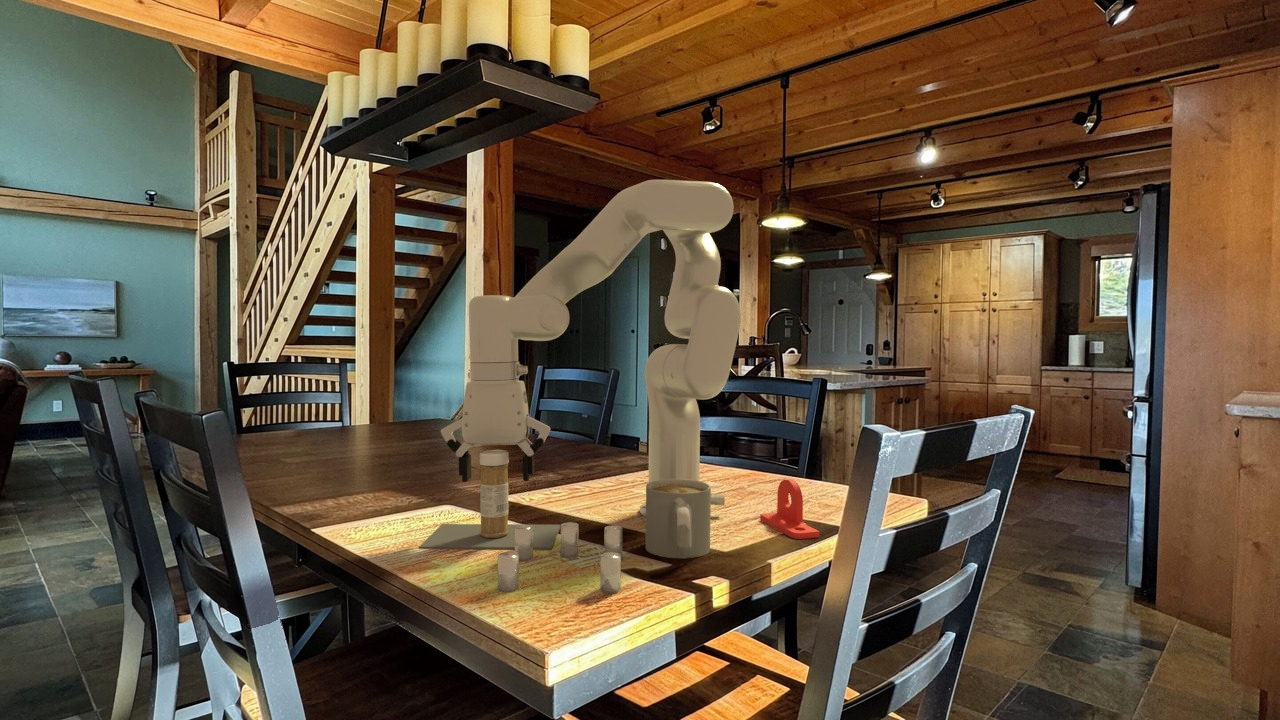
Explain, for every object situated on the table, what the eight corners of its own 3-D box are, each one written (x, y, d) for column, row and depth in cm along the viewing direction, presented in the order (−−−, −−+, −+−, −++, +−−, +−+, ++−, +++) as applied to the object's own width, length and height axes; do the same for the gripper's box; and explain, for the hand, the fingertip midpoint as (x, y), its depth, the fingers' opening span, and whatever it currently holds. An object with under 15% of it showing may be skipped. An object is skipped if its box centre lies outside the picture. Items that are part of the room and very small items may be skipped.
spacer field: (622, 555, 98) (622, 522, 98) (620, 598, 82) (620, 559, 82) (518, 555, 98) (518, 522, 98) (495, 598, 82) (495, 558, 82)
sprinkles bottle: (501, 529, 108) (501, 448, 108) (513, 535, 105) (513, 452, 104) (475, 533, 106) (475, 450, 105) (486, 540, 102) (486, 454, 102)
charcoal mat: (560, 529, 111) (560, 524, 111) (551, 552, 99) (551, 547, 99) (442, 528, 111) (442, 524, 111) (419, 552, 99) (419, 546, 99)
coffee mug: (650, 538, 107) (650, 477, 107) (711, 541, 105) (712, 480, 105) (637, 566, 94) (637, 497, 93) (706, 571, 92) (707, 500, 92)
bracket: (760, 520, 118) (760, 477, 118) (782, 518, 120) (783, 475, 119) (795, 540, 107) (795, 492, 107) (819, 538, 108) (820, 490, 108)
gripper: (551, 371, 108) (553, 473, 109) (446, 372, 108) (449, 475, 109) (545, 374, 101) (547, 484, 101) (433, 375, 100) (435, 486, 101)
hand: (497, 479), depth 105 cm, fingers open, 9 cm apart
